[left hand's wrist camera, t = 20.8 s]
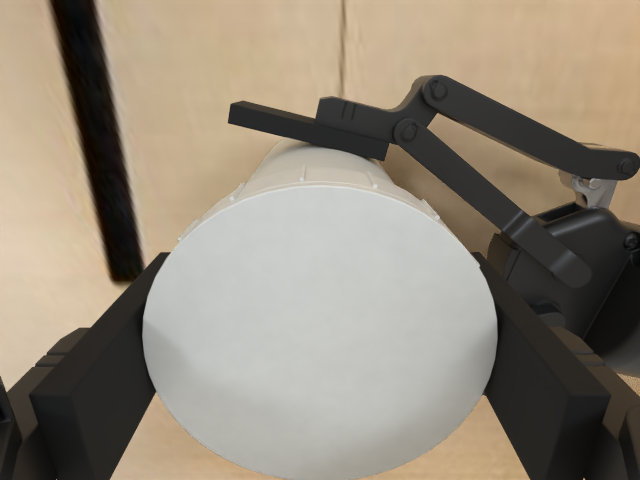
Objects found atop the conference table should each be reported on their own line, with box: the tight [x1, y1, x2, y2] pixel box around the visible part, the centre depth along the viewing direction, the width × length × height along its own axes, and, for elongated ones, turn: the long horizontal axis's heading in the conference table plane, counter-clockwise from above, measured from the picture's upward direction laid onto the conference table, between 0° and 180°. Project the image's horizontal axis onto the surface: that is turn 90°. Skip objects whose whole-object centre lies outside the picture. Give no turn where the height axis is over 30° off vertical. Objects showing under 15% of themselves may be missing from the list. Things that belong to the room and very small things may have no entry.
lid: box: [142, 165, 498, 480], centre depth 11 cm, size 9×9×2 cm
